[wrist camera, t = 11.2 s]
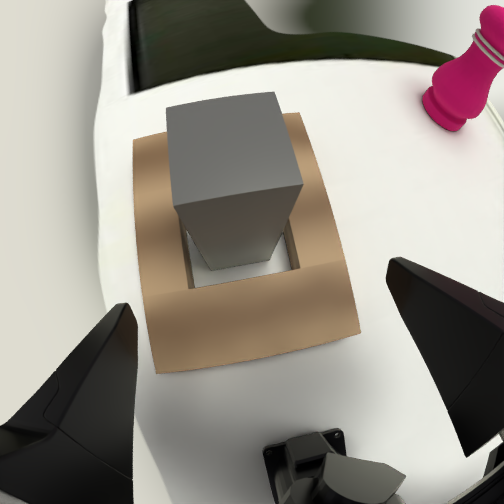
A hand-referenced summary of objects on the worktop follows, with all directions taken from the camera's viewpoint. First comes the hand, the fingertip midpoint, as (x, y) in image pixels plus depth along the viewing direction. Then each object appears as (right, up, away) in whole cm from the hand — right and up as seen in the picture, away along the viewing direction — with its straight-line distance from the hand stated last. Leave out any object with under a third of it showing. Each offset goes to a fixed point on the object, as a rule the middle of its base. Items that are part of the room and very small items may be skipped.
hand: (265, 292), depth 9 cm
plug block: (-2, +2, +14) cm, 14 cm away
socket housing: (-2, +2, +14) cm, 14 cm away
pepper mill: (+23, +19, +18) cm, 35 cm away
